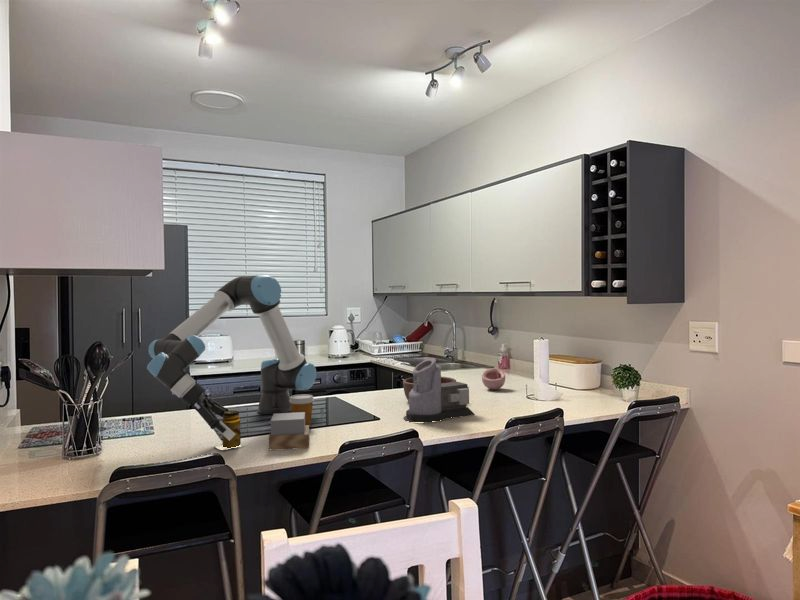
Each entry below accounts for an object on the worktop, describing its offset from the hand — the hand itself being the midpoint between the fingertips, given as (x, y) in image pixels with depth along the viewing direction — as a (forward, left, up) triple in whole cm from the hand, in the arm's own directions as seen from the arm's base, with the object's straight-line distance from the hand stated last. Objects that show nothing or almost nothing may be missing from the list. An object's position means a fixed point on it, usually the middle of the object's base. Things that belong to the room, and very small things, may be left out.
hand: (235, 432), depth 188 cm
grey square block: (+15, +10, 0) cm, 18 cm away
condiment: (-2, -1, -5) cm, 6 cm away
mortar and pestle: (+51, +134, -5) cm, 143 cm away
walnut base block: (+15, +10, -5) cm, 19 cm away
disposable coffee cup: (+5, +31, -5) cm, 32 cm away
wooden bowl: (+32, +94, -5) cm, 99 cm away
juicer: (+47, +67, -5) cm, 82 cm away
